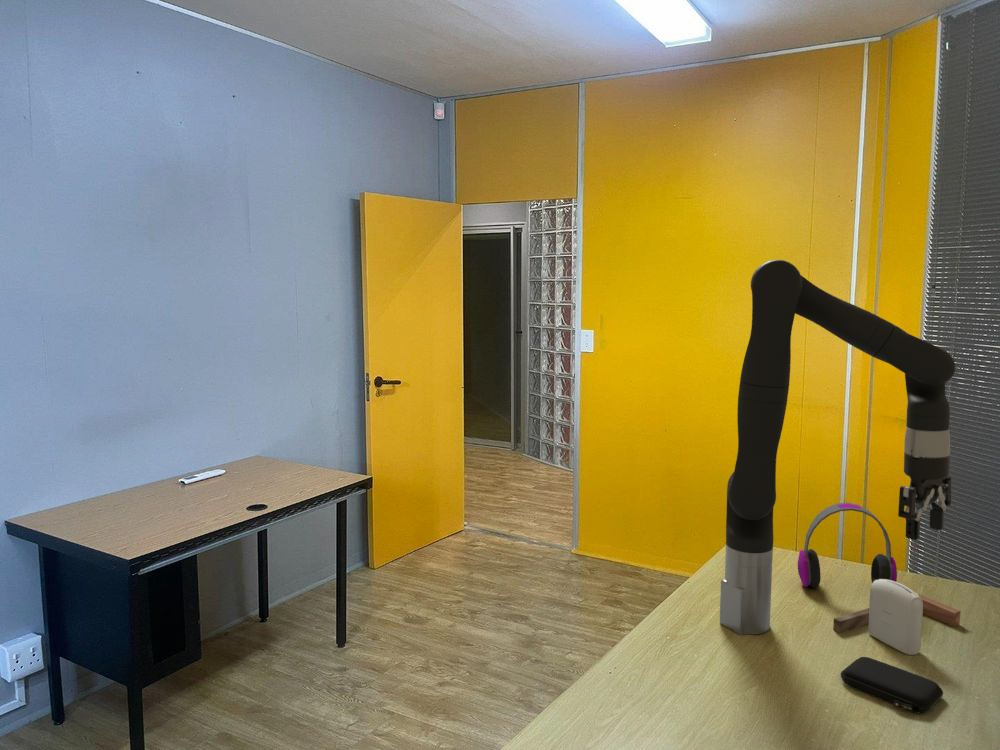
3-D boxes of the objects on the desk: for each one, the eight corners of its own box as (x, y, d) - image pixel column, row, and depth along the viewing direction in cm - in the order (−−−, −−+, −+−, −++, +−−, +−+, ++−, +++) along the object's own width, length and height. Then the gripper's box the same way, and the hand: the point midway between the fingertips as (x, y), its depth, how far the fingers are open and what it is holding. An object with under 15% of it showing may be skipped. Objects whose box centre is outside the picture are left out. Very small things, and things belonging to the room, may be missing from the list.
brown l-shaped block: (877, 652, 144) (877, 637, 143) (833, 630, 153) (833, 616, 152) (959, 624, 154) (960, 610, 154) (913, 605, 163) (914, 592, 163)
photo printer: (864, 633, 151) (867, 575, 149) (880, 629, 153) (883, 572, 151) (907, 657, 141) (911, 596, 140) (924, 653, 143) (928, 592, 141)
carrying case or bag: (833, 687, 132) (923, 723, 122) (834, 671, 132) (924, 706, 121) (858, 666, 139) (945, 698, 129) (859, 650, 139) (947, 682, 128)
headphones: (888, 585, 174) (894, 502, 171) (899, 601, 166) (905, 514, 163) (794, 577, 179) (797, 497, 176) (800, 593, 170) (804, 508, 168)
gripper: (926, 442, 148) (924, 521, 150) (886, 453, 140) (884, 536, 142) (967, 448, 141) (964, 530, 144) (926, 461, 134) (924, 547, 136)
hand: (924, 533), depth 143 cm, fingers open, 8 cm apart
